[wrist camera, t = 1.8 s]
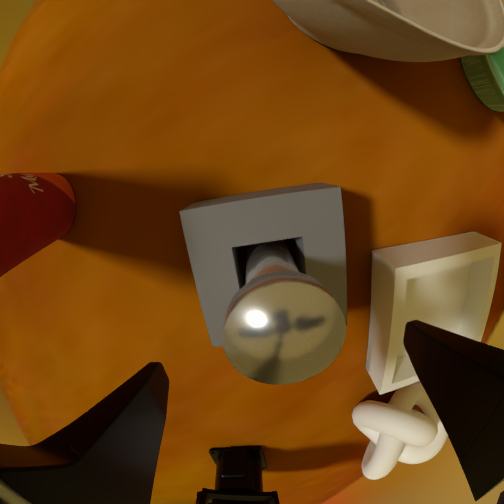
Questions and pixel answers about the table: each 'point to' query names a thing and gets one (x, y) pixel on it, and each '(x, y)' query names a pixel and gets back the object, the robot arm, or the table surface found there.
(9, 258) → the paper cup
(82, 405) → the table surface
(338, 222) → the block
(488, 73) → the ramekin
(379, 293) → the tray
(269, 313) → the pin
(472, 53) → the planter bowl
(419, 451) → the white knot sculpture
